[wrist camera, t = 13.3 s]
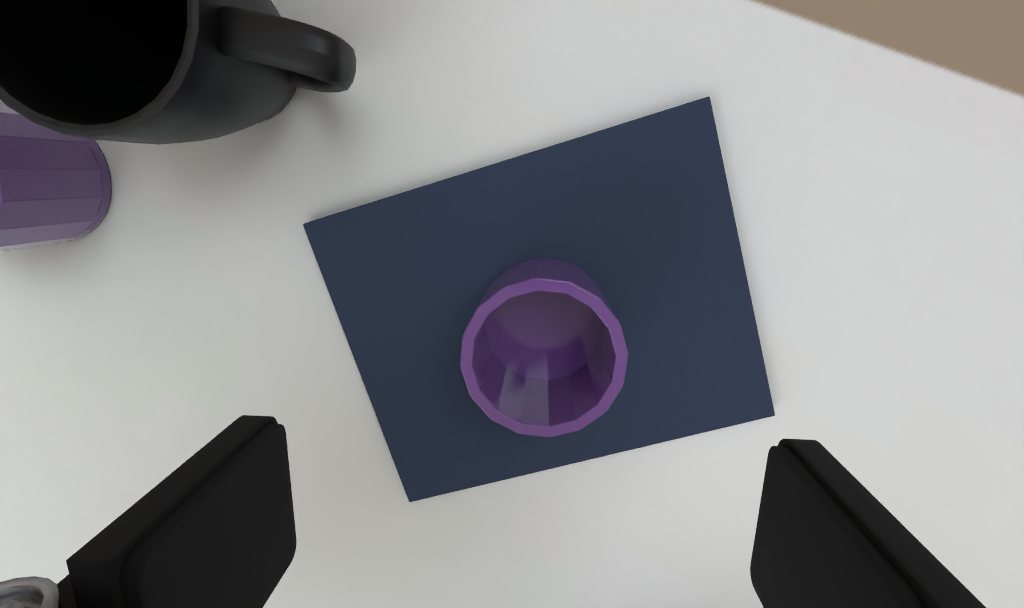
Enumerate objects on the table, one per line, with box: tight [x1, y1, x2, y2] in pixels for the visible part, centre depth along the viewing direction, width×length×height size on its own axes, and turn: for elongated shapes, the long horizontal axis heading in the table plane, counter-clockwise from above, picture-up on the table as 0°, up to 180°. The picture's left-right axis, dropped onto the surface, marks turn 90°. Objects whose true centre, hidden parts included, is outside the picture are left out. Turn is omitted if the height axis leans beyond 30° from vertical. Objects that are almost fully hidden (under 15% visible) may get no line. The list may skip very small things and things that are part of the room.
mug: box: [0, 0, 356, 144], centre depth 20 cm, size 8×12×10 cm
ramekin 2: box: [460, 258, 628, 437], centre depth 24 cm, size 7×7×6 cm
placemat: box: [303, 97, 775, 502], centre depth 27 cm, size 20×16×1 cm
